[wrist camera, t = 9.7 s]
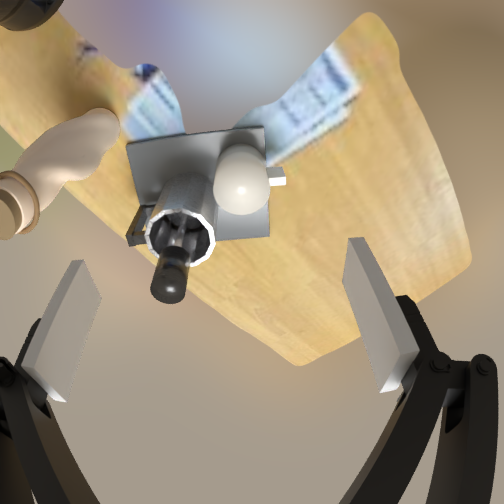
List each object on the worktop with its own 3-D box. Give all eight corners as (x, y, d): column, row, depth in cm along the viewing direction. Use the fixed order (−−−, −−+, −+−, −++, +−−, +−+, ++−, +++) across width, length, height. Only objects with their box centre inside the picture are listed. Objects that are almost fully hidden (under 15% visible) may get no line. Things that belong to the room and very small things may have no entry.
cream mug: (214, 146, 46) (209, 167, 39) (278, 140, 46) (287, 160, 39) (219, 189, 51) (216, 217, 44) (280, 184, 51) (288, 211, 44)
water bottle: (99, 170, 48) (14, 278, 26) (63, 139, 44) (-41, 228, 22) (134, 128, 44) (46, 218, 22) (96, 93, 40) (-20, 157, 18)
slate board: (127, 144, 46) (125, 146, 45) (263, 126, 46) (263, 128, 45) (153, 243, 58) (152, 246, 57) (269, 233, 58) (269, 236, 57)
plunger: (161, 188, 47) (127, 268, 32) (207, 183, 47) (193, 263, 32) (170, 228, 52) (146, 314, 36) (213, 223, 52) (205, 311, 36)
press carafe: (138, 179, 49) (115, 216, 39) (214, 169, 49) (209, 205, 39) (151, 227, 55) (134, 270, 45) (221, 220, 55) (218, 264, 45)
